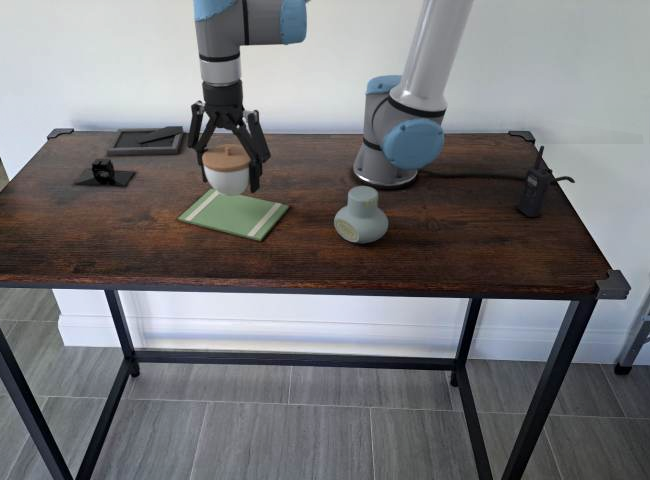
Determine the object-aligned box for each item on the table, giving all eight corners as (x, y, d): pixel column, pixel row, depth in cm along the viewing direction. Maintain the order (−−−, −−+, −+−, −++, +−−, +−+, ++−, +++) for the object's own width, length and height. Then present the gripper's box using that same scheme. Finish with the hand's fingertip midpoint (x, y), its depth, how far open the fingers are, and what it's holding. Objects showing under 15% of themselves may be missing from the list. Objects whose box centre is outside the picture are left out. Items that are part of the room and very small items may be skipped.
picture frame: (183, 132, 156) (119, 134, 156) (182, 125, 154) (117, 127, 154) (176, 154, 145) (108, 155, 145) (175, 147, 144) (106, 148, 144)
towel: (288, 208, 124) (288, 205, 123) (260, 241, 114) (260, 238, 114) (211, 190, 130) (211, 187, 130) (178, 220, 121) (177, 217, 120)
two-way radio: (513, 207, 122) (531, 143, 113) (530, 203, 123) (549, 139, 114) (530, 220, 118) (550, 155, 109) (547, 215, 119) (568, 151, 110)
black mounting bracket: (75, 185, 134) (70, 167, 131) (87, 170, 139) (82, 153, 137) (125, 186, 133) (120, 169, 130) (135, 172, 138) (131, 154, 135)
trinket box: (259, 177, 122) (257, 137, 116) (252, 202, 114) (250, 160, 108) (211, 175, 123) (207, 135, 117) (201, 200, 115) (195, 159, 109)
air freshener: (393, 239, 114) (398, 196, 107) (364, 254, 110) (368, 211, 103) (355, 217, 120) (358, 175, 114) (327, 231, 116) (328, 189, 110)
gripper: (286, 81, 102) (288, 187, 116) (180, 65, 110) (193, 166, 124) (269, 95, 97) (272, 204, 111) (158, 77, 105) (175, 182, 119)
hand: (231, 184), depth 118 cm, fingers closed on trinket box, 11 cm apart
